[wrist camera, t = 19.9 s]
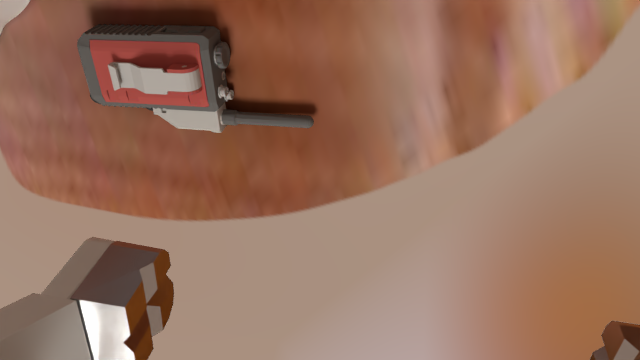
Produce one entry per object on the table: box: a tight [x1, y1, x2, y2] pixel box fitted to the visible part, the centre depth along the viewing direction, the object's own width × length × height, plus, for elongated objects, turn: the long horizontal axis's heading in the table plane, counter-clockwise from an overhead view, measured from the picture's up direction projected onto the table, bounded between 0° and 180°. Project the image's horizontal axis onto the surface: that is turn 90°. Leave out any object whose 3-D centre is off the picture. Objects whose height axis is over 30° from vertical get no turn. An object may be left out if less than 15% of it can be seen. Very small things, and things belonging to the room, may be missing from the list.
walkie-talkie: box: [77, 24, 314, 133], centre depth 46 cm, size 9×4×20 cm
